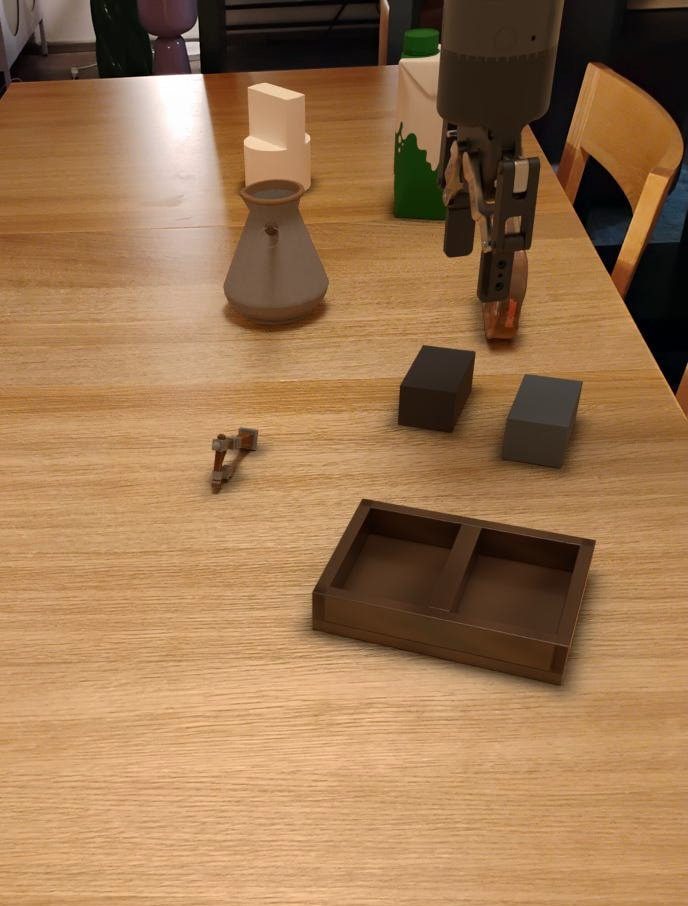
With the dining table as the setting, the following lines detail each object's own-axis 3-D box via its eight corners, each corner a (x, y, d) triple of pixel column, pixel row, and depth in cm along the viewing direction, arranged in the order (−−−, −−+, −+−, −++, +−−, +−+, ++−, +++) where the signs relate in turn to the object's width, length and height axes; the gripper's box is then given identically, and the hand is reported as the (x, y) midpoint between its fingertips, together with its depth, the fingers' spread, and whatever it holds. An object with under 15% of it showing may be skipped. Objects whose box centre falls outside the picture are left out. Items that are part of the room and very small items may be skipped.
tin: (479, 290, 113) (488, 212, 108) (509, 289, 113) (519, 212, 107) (487, 354, 103) (497, 272, 97) (520, 354, 102) (532, 271, 96)
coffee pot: (227, 289, 118) (219, 152, 108) (327, 285, 117) (328, 146, 107) (216, 380, 103) (205, 230, 92) (332, 376, 101) (333, 224, 91)
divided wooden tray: (587, 577, 76) (596, 539, 74) (560, 685, 68) (569, 647, 66) (360, 534, 82) (362, 497, 80) (311, 628, 74) (311, 592, 72)
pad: (575, 421, 92) (583, 380, 90) (560, 468, 87) (568, 427, 84) (518, 413, 94) (524, 373, 91) (500, 458, 89) (506, 418, 86)
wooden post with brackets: (200, 487, 87) (205, 434, 86) (234, 474, 94) (240, 424, 93) (220, 491, 86) (225, 437, 85) (253, 477, 94) (258, 427, 92)
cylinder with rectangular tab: (324, 185, 141) (324, 89, 133) (271, 203, 137) (268, 105, 129) (284, 170, 146) (282, 77, 138) (232, 186, 143) (227, 92, 135)
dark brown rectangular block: (471, 389, 98) (476, 351, 95) (451, 432, 92) (455, 392, 90) (419, 382, 99) (422, 344, 97) (397, 424, 94) (399, 385, 91)
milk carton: (399, 195, 136) (408, 23, 123) (468, 198, 134) (485, 23, 120) (385, 219, 130) (393, 42, 117) (458, 223, 128) (474, 42, 114)
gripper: (598, 56, 62) (556, 310, 73) (518, 7, 73) (492, 236, 84) (477, 70, 62) (453, 323, 73) (414, 18, 72) (401, 246, 83)
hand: (473, 276), depth 78 cm, fingers open, 8 cm apart
